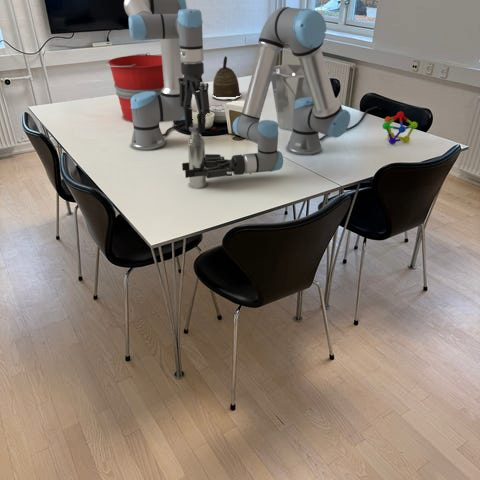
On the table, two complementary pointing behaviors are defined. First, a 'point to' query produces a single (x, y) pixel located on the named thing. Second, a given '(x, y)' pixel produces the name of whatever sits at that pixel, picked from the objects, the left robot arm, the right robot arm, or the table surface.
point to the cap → (193, 128)
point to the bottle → (196, 158)
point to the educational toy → (398, 128)
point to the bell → (225, 82)
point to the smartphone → (212, 156)
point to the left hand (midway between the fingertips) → (195, 129)
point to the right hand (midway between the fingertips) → (184, 170)
